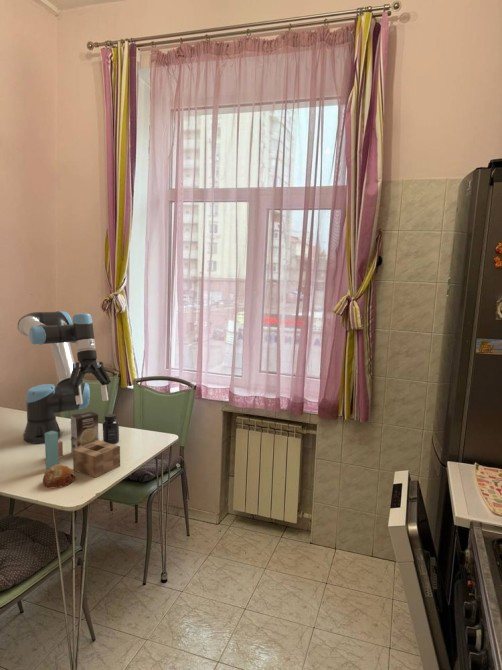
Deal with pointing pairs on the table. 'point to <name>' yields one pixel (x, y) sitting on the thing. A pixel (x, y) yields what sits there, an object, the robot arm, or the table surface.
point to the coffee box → (83, 429)
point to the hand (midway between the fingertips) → (92, 402)
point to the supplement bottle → (110, 429)
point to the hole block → (96, 458)
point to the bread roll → (58, 476)
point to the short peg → (60, 448)
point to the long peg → (51, 449)
